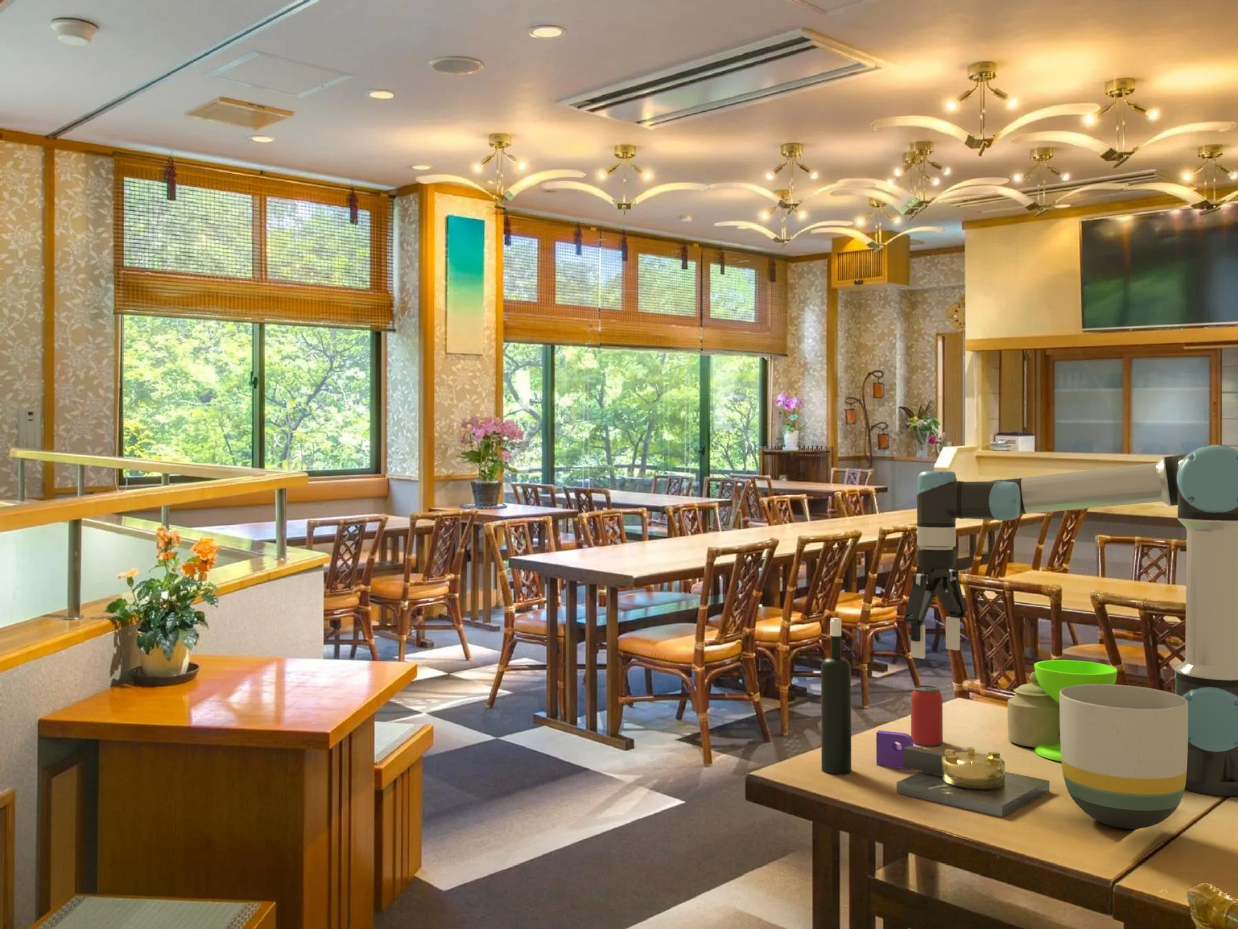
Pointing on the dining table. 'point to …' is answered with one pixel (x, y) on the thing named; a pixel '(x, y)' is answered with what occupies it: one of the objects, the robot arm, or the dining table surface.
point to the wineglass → (1068, 685)
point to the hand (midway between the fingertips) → (935, 653)
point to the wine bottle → (836, 707)
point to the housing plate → (976, 792)
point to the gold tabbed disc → (958, 766)
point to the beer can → (926, 715)
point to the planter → (1124, 752)
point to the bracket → (891, 748)
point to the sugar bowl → (1033, 716)
